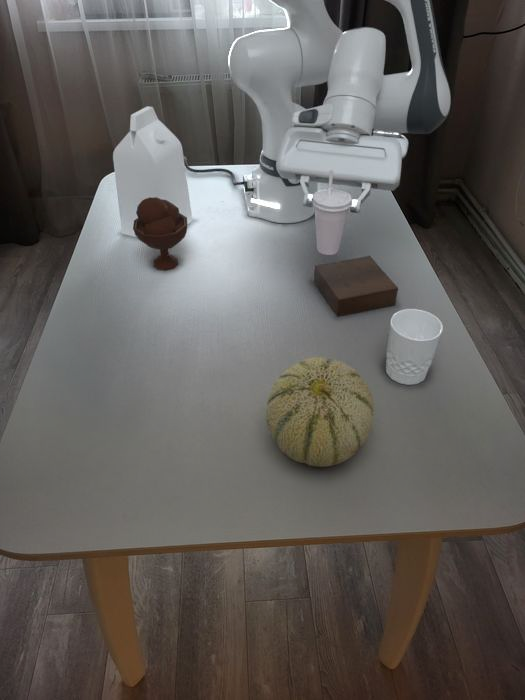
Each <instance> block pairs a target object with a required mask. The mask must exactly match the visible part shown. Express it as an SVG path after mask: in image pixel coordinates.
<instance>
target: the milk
mask: <svg viewBox="0 0 525 700" xmlns="http://www.w3.org/2000/svg"><path fill="white" fill-rule="evenodd" d="M184 157H185V156H184V150H183V146H182V143H181V141H180V140H179V138H178V137H177V136H176V135H175V134H174V133H173V132H172V131H171V130H170V129H169V127H167V126H166V125H165V124H164V123H163V122H162V121H161V120H160V119H159V118H158V116H157V114H156V111H155V108H154V106H148V105H147V106H145V107H143V108H141V109H140V110H137V111H135V112H133V113H131V114H130V121H129V131H128V132H127V134H125V136H124V137H123V138H122V139H121V141H120V142H119V143H118V144H117V145H116V147H115V148H114V150H113V153H112V161H113V168H114V177H115V179H114V180H115V185H116V186H115V187H116V195H117V203H118V210H119V219H120V227H121V234H122V235H125V236H129V237H133V238H137V236H136V235H135V232H134V230H133V225H134V220H136V219H137V218H138V216H137V214H136V211H137V207H138V205H139V204H140V202H142V200H144V199H146V198H149V197H151V198H154V197H156V198H159V199H162V200H167V201H169V202H171V203H172V204H174V205H175V206H176V207H178V208H179V213H180V214H182V215H184V216H185V217H187V226H188V225H190V224H191V223H192V222H193V221H194V220H193V214H192V206H191V200H190V193H189V185H188V180H187V171H186V166H185V163H184Z"/></svg>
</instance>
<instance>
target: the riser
mask: <svg viewBox="0 0 525 700" xmlns="http://www.w3.org/2000/svg"><path fill="white" fill-rule="evenodd" d="M313 284H314V285H315V287H316V288H317V290H318V291H319V293H320V294H321V295H322V297H323V299H324V300H325V301H326V304H327V305H328V306H329V307H330V309H331V310H332V312H333V313H334V314H335V316H336V317H337V318H338V317H343V316H348V315H349V316H350V315H354V314H358V313H363V312H368V311H369V312H370V311H373V310H378V309H382V308H388V307H393V306H395V305H396V301H397V297H398V291H399V287H398V286H397V285H396V283H395V282H394V281H393V280H392V279H391V278H390V276H389V275H387V273H386V272H385V271H384V270H383V269H382V268H381V266H380V265H379V264H378V263H377V262H376V261H375V260H374V259H373V257H372V256H371V255H365V256H361V257H353V258H348V259H343V260H337V261H331V262H327V263H321V264H320V263H319V264H316V265H314V270H313Z"/></svg>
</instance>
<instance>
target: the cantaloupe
mask: <svg viewBox="0 0 525 700" xmlns="http://www.w3.org/2000/svg"><path fill="white" fill-rule="evenodd" d="M374 406H375V403H374V399H373V394H372V391H371V390H370V387H369V386H368V384H367V382H366V381H365V379H364V378H363V376H361V375H360V374H359V372H358V371H357V370H356V369H355V368H354V367H352V366H351V365H349V364H346V363H345V362H343V361H340V360H337V359H331V358H326V357H319V356H318V357H317V356H316V357H309V358H305V359H302V360H301V361H299V362H297V363H294V364H292V365H291V366H289V367H288V368H286V369H285V371H283V373H282V374H281V375H280V376H279V377H278V379H277V380H275V382H274V383H273V384H272V386H271V388H270V392H269V394H268V398H267V402H266V412H265V419H266V420H265V421H266V422H265V423H266V426H267V429H268V432H269V434H270V436H271V439H272V440H273V441H274V443H275V444H276V445H277V447H278V449H280V451H281V452H282V453H283V454H285V455H287V456H288V457H289V458H290V459H292V460H294V461H295V462H298V463H301V464H305V465H308V466H312V467H321V468H324V467H325V468H326V467H332V466H335V465H339V464H341V463H344V462H345V461H348V460H349V459H350V458H352V457H353V456H354V455H355V454H356V452H357V451H358V450H360V449H361V448H362V446H363V445H364V444H365V442H367V440H368V438H369V436H370V433H371V432H372V431H371V430H372V427H373V419H374V418H373V417H374V412H375V407H374Z"/></svg>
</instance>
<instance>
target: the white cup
mask: <svg viewBox="0 0 525 700" xmlns="http://www.w3.org/2000/svg"><path fill="white" fill-rule="evenodd" d="M443 330H444V326H443V323H442V321H441V319H439V318H438V317H437V316H436V315H435V314H433V313H431V312H428V311H427V310H424V309H418V308H405V309H401V310H399V311H397V312H395V313H394V314H393V315H392V316H391V318H390V322H389V331H388V339H387V345H386V357H385V358H386V360H385V372H386V375H387V376H388V377H389V378H390V379H391V380H393V381H394V382H396V383H398V384H400V385H407V386H413V385H419V384H420V383H422V382H423V381H425V379H426V377H427V375H428V373H429V369H430V367H431V365H432V363H433V360H434V357H435V355H436V352H437V348H438V345H439V343H440V340H441V336H442V333H443Z"/></svg>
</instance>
